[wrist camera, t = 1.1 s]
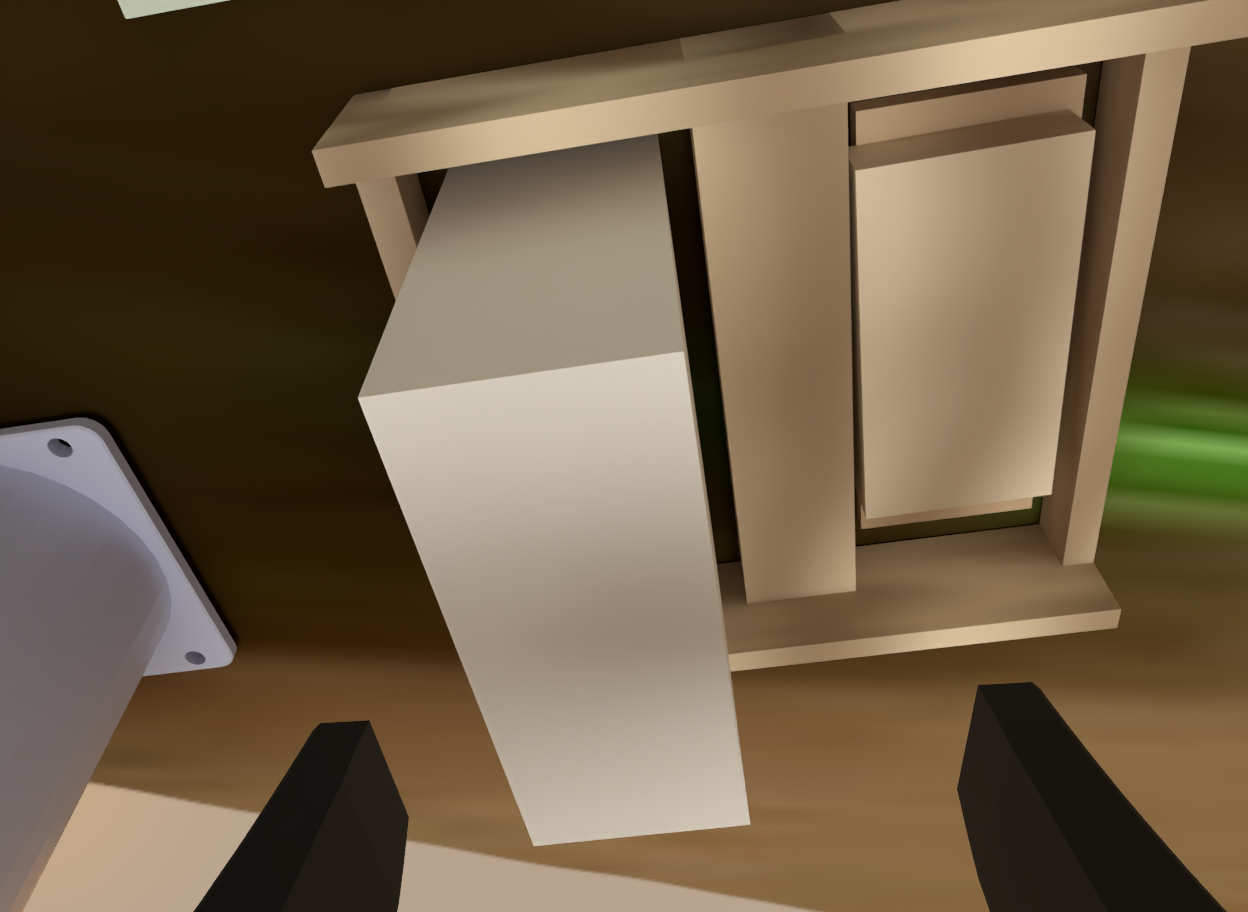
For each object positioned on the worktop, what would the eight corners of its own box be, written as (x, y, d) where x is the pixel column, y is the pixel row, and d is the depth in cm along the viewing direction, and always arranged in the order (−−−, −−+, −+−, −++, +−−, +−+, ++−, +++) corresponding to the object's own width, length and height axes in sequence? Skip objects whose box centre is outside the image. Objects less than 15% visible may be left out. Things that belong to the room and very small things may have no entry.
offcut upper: (854, 485, 22) (865, 519, 21) (841, 147, 17) (855, 170, 16) (1032, 461, 21) (1051, 494, 21) (1068, 108, 17) (1095, 130, 16)
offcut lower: (851, 497, 24) (861, 528, 23) (842, 92, 18) (855, 111, 17) (1014, 476, 23) (1031, 507, 22) (1060, 55, 17) (1086, 73, 16)
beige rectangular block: (554, 551, 24) (533, 845, 17) (449, 166, 18) (358, 397, 11) (712, 531, 23) (749, 824, 17) (657, 132, 18) (683, 351, 11)
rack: (518, 605, 25) (508, 696, 22) (354, 94, 17) (311, 151, 15) (1065, 538, 24) (1117, 627, 21) (1159, -44, 16) (1257, -8, 13)
